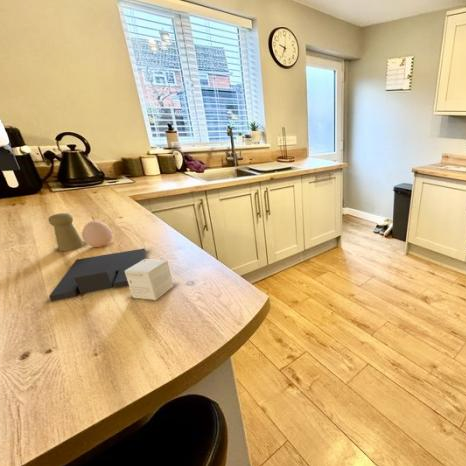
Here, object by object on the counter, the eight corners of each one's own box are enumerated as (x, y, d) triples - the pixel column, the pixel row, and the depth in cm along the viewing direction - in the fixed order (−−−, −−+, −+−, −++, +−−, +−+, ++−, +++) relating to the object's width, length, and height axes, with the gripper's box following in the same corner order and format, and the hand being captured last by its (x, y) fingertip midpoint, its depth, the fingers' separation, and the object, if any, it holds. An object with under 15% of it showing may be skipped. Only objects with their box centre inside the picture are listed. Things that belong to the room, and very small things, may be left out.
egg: (85, 252, 87) (75, 227, 84) (88, 244, 93) (79, 220, 90) (114, 247, 91) (106, 222, 88) (116, 239, 97) (108, 216, 93)
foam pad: (80, 294, 67) (74, 277, 66) (87, 282, 72) (81, 266, 70) (112, 288, 70) (106, 271, 68) (117, 276, 75) (112, 261, 73)
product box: (132, 298, 66) (122, 270, 63) (152, 284, 72) (144, 258, 69) (156, 300, 65) (148, 272, 63) (174, 286, 71) (168, 260, 68)
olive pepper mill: (62, 245, 92) (49, 212, 88) (86, 242, 95) (75, 210, 90) (55, 252, 87) (41, 218, 83) (81, 249, 90) (68, 215, 86)
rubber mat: (51, 301, 65) (49, 296, 64) (78, 264, 81) (76, 259, 80) (137, 284, 72) (135, 279, 71) (145, 252, 88) (144, 248, 87)
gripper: (-38, 92, 65) (-3, 169, 71) (-99, 86, 51) (-49, 182, 57) (9, 94, 68) (38, 167, 75) (-37, 89, 54) (4, 179, 60)
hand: (0, 173), depth 66 cm, fingers open, 9 cm apart
